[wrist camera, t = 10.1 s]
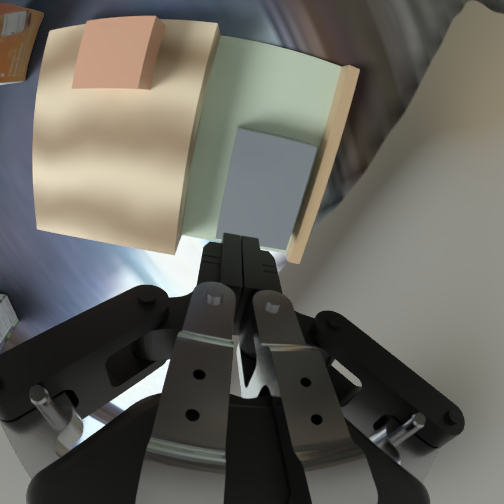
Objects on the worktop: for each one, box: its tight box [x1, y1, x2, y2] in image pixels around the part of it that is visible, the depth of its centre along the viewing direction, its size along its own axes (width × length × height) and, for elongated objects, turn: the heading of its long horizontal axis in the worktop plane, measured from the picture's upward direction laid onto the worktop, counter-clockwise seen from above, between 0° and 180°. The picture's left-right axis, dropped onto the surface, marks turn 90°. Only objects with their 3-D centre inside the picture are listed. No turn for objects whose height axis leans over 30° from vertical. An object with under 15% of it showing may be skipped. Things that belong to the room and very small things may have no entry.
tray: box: [182, 35, 360, 264], centre depth 21 cm, size 18×11×2 cm, turn 167°
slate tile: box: [216, 126, 317, 250], centre depth 22 cm, size 9×6×2 cm, turn 167°
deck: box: [33, 19, 221, 255], centre depth 18 cm, size 18×14×4 cm
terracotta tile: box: [72, 16, 166, 90], centre depth 13 cm, size 5×5×2 cm
